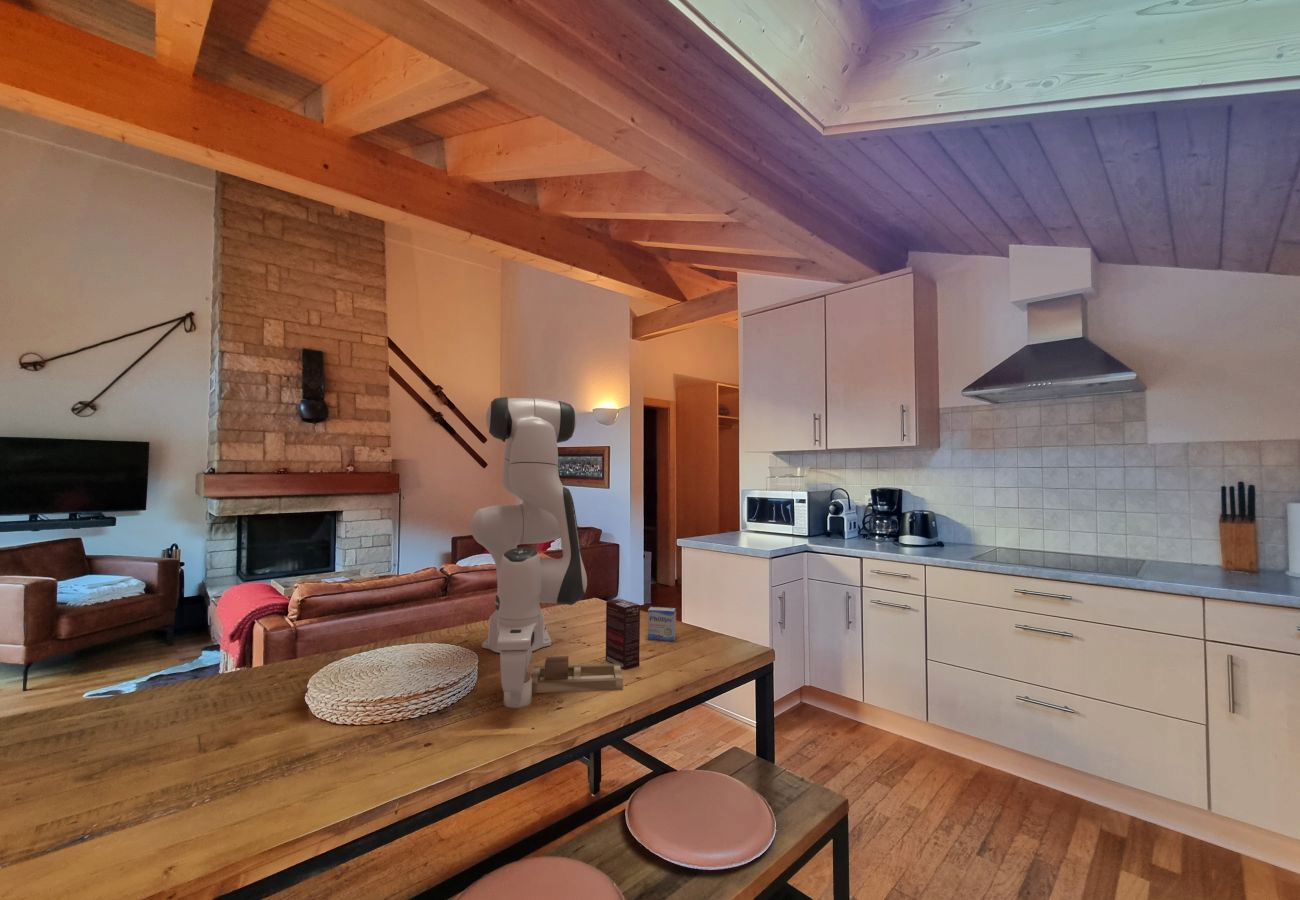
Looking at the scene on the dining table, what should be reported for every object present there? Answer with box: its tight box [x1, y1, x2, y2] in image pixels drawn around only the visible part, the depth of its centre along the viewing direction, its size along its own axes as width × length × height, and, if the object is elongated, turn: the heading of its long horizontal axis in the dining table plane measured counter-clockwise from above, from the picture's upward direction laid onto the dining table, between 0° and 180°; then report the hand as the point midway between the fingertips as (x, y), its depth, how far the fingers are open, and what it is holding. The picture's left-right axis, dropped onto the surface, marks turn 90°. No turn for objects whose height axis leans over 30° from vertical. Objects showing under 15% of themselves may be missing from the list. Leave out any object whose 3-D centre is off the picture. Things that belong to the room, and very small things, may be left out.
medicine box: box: [647, 606, 677, 642], centre depth 154 cm, size 8×4×9 cm, turn 81°
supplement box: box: [605, 598, 641, 671], centre depth 132 cm, size 9×5×16 cm, turn 39°
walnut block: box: [544, 655, 569, 680], centre depth 119 cm, size 5×5×5 cm
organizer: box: [531, 663, 624, 694], centre depth 119 cm, size 10×20×3 cm, turn 97°
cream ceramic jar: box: [503, 671, 533, 709], centre depth 109 cm, size 6×6×6 cm
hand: (518, 696), depth 109 cm, fingers closed on cream ceramic jar, 6 cm apart
